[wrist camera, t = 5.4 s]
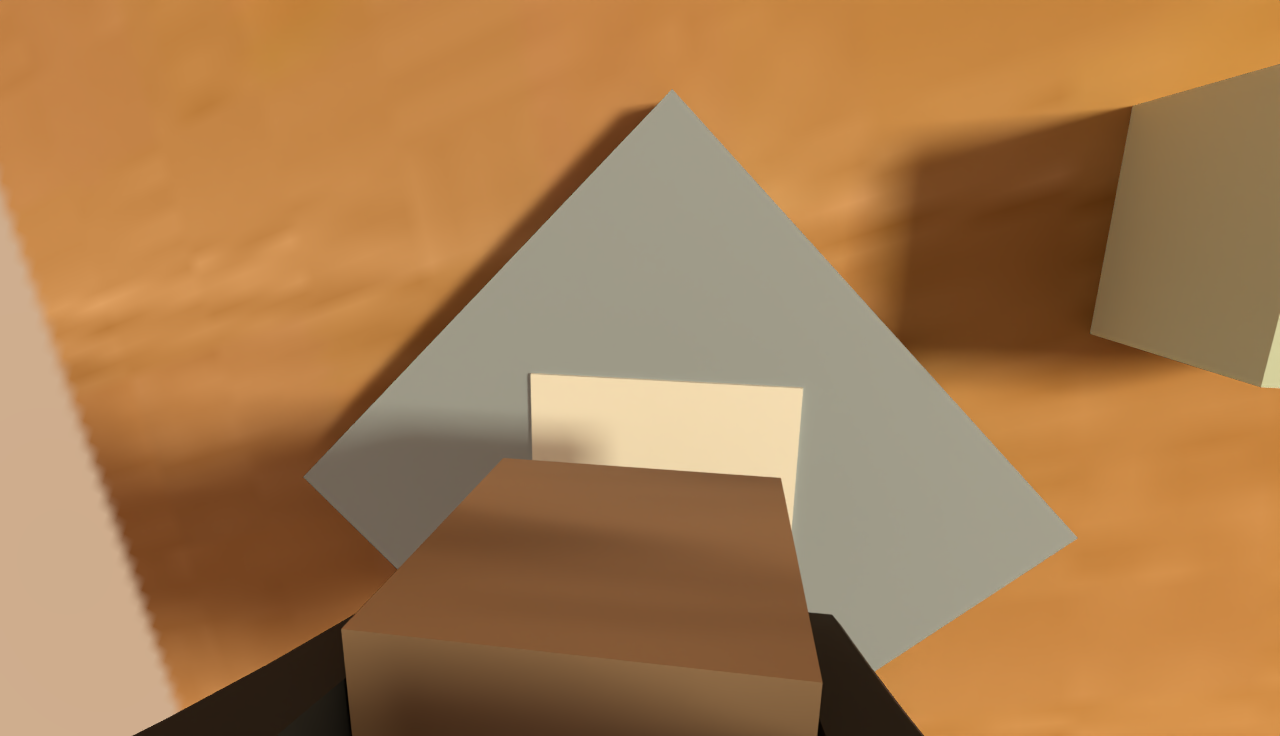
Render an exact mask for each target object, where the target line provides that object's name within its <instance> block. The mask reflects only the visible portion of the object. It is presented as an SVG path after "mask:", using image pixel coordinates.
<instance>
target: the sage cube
mask: <svg viewBox="0 0 1280 736" xmlns="http://www.w3.org/2000/svg"><path fill="white" fill-rule="evenodd" d="M1090 334H1092V335H1095V336H1098V337H1101V338H1105V339H1108V340H1111V341H1114V342H1117V343H1121V344H1124V345H1127V346H1130V347H1134V348H1137V349H1140V350H1143V351H1146V352H1150V353H1153V354H1156V355H1159V356H1162V357H1166V358H1169V359H1172V360H1175V361H1178V362H1182V363H1185V364H1188V365H1191V366H1194V367H1198V368H1201V369H1204V370H1207V371H1211V372H1214V373H1217V374H1220V375H1223V376H1227V377H1230V378H1233V379H1236V380H1239V381H1243V382H1246V383H1249V384H1252V385H1255V386H1259V387H1267V388H1280V64H1278V65H1275V66H1271V67H1268V68H1264V69H1261V70H1257V71H1254V72H1250V73H1247V74H1243V75H1240V76H1236V77H1233V78H1229V79H1226V80H1222V81H1219V82H1215V83H1212V84H1208V85H1205V86H1201V87H1198V88H1194V89H1191V90H1187V91H1184V92H1180V93H1176V94H1173V95H1169V96H1166V97H1162V98H1159V99H1155V100H1152V101H1148V102H1145V103H1141V104H1138V105H1134V106H1133V107H1132V112H1131V117H1130V123H1129V128H1128V133H1127V139H1126V144H1125V149H1124V155H1123V160H1122V165H1121V171H1120V176H1119V181H1118V187H1117V192H1116V197H1115V203H1114V208H1113V213H1112V219H1111V224H1110V229H1109V235H1108V240H1107V245H1106V250H1105V256H1104V261H1103V266H1102V272H1101V277H1100V282H1099V288H1098V293H1097V298H1096V304H1095V309H1094V314H1093V320H1092V325H1091V330H1090Z"/></svg>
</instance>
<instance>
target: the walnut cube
mask: <svg viewBox="0 0 1280 736" xmlns="http://www.w3.org/2000/svg"><path fill="white" fill-rule="evenodd" d="M341 632H342V642H343V652H344V661H345V671H346V681H347V690H348V700H349V710H350V719H351V729H352V736H817V733H818V723H819V713H820V703H821V693H822V684H823V682H822V677H821V672H820V668H819V663H818V658H817V653H816V648H815V643H814V638H813V633H812V628H811V623H810V618H809V613H808V609H807V604H806V599H805V594H804V589H803V584H802V579H801V574H800V569H799V564H798V559H797V554H796V550H795V545H794V540H793V535H792V530H791V525H790V520H789V515H788V510H787V505H786V500H785V495H784V491H783V486H782V481H781V478H777V477H763V476H749V475H735V474H721V473H707V472H693V471H679V470H665V469H651V468H637V467H623V466H609V465H595V464H581V463H567V462H553V461H539V460H525V459H511V458H503V459H502V460H501V461H500V462H499V463H498V464H497V465H496V466H495V467H494V468H493V469H492V470H491V471H490V473H489V474H488V475H487V476H486V477H485V478H484V479H483V480H482V481H481V482H480V483H479V484H478V485H477V486H476V487H475V488H474V489H473V490H472V492H471V493H470V494H469V495H468V496H467V497H466V498H465V499H464V500H463V501H462V502H461V503H460V504H459V505H458V506H457V507H456V508H455V509H454V511H453V512H452V513H451V514H450V515H449V516H448V517H447V518H446V519H445V520H444V521H443V522H442V523H441V524H440V525H439V526H438V527H437V528H436V530H435V531H434V532H433V533H432V534H431V535H430V536H429V537H428V538H427V539H426V540H425V541H424V542H423V543H422V544H421V545H420V546H419V547H418V548H417V550H416V551H415V552H414V553H413V554H412V555H411V556H410V557H409V558H408V559H407V560H406V561H405V562H404V563H403V564H402V565H401V566H400V567H399V569H398V570H397V571H396V572H395V573H394V574H393V575H392V576H391V577H390V578H389V579H388V580H387V581H386V582H385V583H384V584H383V585H382V586H381V588H380V589H379V590H378V591H377V592H376V593H375V594H374V595H373V596H372V597H371V598H370V599H369V600H368V601H367V602H366V603H365V604H364V605H363V607H362V608H361V609H360V610H359V611H358V612H357V613H356V614H355V615H354V616H353V617H352V618H351V619H350V620H349V621H348V622H347V623H346V624H345V626H344V627H343V628H342V629H341Z"/></svg>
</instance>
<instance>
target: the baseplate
mask: <svg viewBox="0 0 1280 736" xmlns="http://www.w3.org/2000/svg"><path fill="white" fill-rule="evenodd" d="M503 458H511V459H525V460H539V461H553V462H567V463H581V464H595V465H609V466H623V467H637V468H651V469H665V470H679V471H693V472H707V473H721V474H735V475H749V476H763V477H777V478H781V481H782V486H783V491H784V495H785V500H786V505H787V510H788V515H789V520H790V525H791V530H792V535H793V540H794V545H795V550H796V554H797V559H798V564H799V569H800V574H801V579H802V584H803V589H804V594H805V599H806V604H807V609H808V612H811V613H821V614H831V615H833V616H834V617H835V619H836V620H837V621H838V622H839V623H840V624H841V626H842V627H843V629H844V630H845V631H846V633H847V634H848V636H849V637H850V638H851V640H852V641H853V643H854V644H855V645H856V647H857V648H858V650H859V651H860V652H861V654H862V655H863V657H864V658H865V659H866V661H867V662H868V664H869V665H870V666H871V668H872V669H873V670H874V671H876V670H878V669H879V668H881V667H882V666H884V665H885V664H887V663H888V662H890V661H891V660H893V659H894V658H896V657H897V656H899V655H900V654H902V653H903V652H905V651H907V650H908V649H910V648H911V647H913V646H914V645H916V644H917V643H919V642H920V641H922V640H923V639H925V638H926V637H928V636H929V635H931V634H932V633H934V632H936V631H937V630H939V629H940V628H942V627H943V626H945V625H946V624H948V623H949V622H951V621H952V620H954V619H955V618H957V617H958V616H960V615H961V614H963V613H965V612H966V611H968V610H969V609H971V608H972V607H974V606H975V605H977V604H978V603H980V602H981V601H983V600H984V599H986V598H987V597H989V596H990V595H992V594H994V593H995V592H997V591H998V590H1000V589H1001V588H1003V587H1004V586H1006V585H1007V584H1009V583H1010V582H1012V581H1013V580H1015V579H1016V578H1018V577H1019V576H1021V575H1023V574H1024V573H1026V572H1027V571H1029V570H1030V569H1032V568H1033V567H1035V566H1036V565H1038V564H1039V563H1041V562H1042V561H1044V560H1045V559H1047V558H1048V557H1050V556H1051V555H1053V554H1055V553H1056V552H1058V551H1059V550H1061V549H1062V548H1064V547H1065V546H1067V545H1068V544H1070V543H1071V542H1073V541H1074V540H1076V539H1077V537H1076V536H1075V534H1074V533H1073V532H1072V531H1071V530H1070V529H1069V528H1068V527H1067V526H1066V524H1065V523H1064V522H1063V521H1062V520H1061V519H1060V518H1059V517H1058V516H1057V515H1056V513H1055V512H1054V511H1053V510H1052V509H1051V508H1050V507H1049V506H1048V505H1047V503H1046V502H1045V501H1044V500H1043V499H1042V498H1041V497H1040V496H1039V495H1038V493H1037V492H1036V491H1035V490H1034V489H1033V488H1032V487H1031V486H1030V485H1029V484H1028V482H1027V481H1026V480H1025V479H1024V478H1023V477H1022V476H1021V475H1020V474H1019V472H1018V471H1017V470H1016V469H1015V468H1014V467H1013V466H1012V465H1011V464H1010V463H1009V461H1008V460H1007V459H1006V458H1005V457H1004V456H1003V455H1002V454H1001V453H1000V451H999V450H998V449H997V448H996V447H995V446H994V445H993V444H992V443H991V441H990V440H989V439H988V438H987V437H986V436H985V435H984V434H983V433H982V432H981V430H980V429H979V428H978V427H977V426H976V425H975V424H974V423H973V422H972V420H971V419H970V418H969V417H968V416H967V415H966V414H965V413H964V412H963V410H962V409H961V408H960V407H959V406H958V405H957V404H956V403H955V402H954V401H953V399H952V398H951V397H950V396H949V395H948V394H947V393H946V392H945V391H944V389H943V388H942V387H941V386H940V385H939V384H938V383H937V382H936V381H935V379H934V378H933V377H932V376H931V375H930V374H929V373H928V372H927V371H926V370H925V368H924V367H923V366H922V365H921V364H920V363H919V362H918V361H917V360H916V358H915V357H914V356H913V355H912V354H911V353H910V352H909V351H908V350H907V349H906V347H905V346H904V345H903V344H902V343H901V342H900V341H899V340H898V339H897V337H896V336H895V335H894V334H893V333H892V332H891V331H890V330H889V329H888V327H887V326H886V325H885V324H884V323H883V322H882V321H881V320H880V319H879V318H878V316H877V315H876V314H875V313H874V312H873V311H872V310H871V309H870V308H869V306H868V305H867V304H866V303H865V302H864V301H863V300H862V299H861V298H860V296H859V295H858V294H857V293H856V292H855V291H854V290H853V289H852V288H851V287H850V285H849V284H848V283H847V282H846V281H845V280H844V279H843V278H842V277H841V275H840V274H839V273H838V272H837V271H836V270H835V269H834V268H833V267H832V265H831V264H830V263H829V262H828V261H827V260H826V259H825V258H824V257H823V256H822V254H821V253H820V252H819V251H818V250H817V249H816V248H815V247H814V246H813V244H812V243H811V242H810V241H809V240H808V239H807V238H806V237H805V236H804V235H803V233H802V232H801V231H800V230H799V229H798V228H797V227H796V226H795V225H794V223H793V222H792V221H791V220H790V219H789V218H788V217H787V216H786V215H785V213H784V212H783V211H782V210H781V209H780V208H779V207H778V206H777V205H776V204H775V202H774V201H773V200H772V199H771V198H770V197H769V196H768V195H767V194H766V192H765V191H764V190H763V189H762V188H761V187H760V186H759V185H758V184H757V182H756V181H755V180H754V179H753V178H752V177H751V176H750V175H749V174H748V173H747V171H746V170H745V169H744V168H743V167H742V166H741V165H740V164H739V163H738V161H737V160H736V159H735V158H734V157H733V156H732V155H731V154H730V153H729V151H728V150H727V149H726V148H725V147H724V146H723V145H722V144H721V143H720V142H719V140H718V139H717V138H716V137H715V136H714V135H713V134H712V133H711V132H710V130H709V129H708V128H707V127H706V126H705V125H704V124H703V123H702V122H701V121H700V119H699V118H698V117H697V116H696V115H695V114H694V113H693V112H692V111H691V109H690V108H689V107H688V106H687V105H686V104H685V103H684V102H683V101H682V99H681V98H680V97H679V96H678V95H677V94H676V93H675V92H674V91H673V90H671V91H670V92H669V93H668V94H667V95H666V96H665V97H664V98H663V99H662V100H661V101H660V102H659V103H658V105H657V106H656V107H655V108H654V109H653V110H652V111H651V112H650V113H649V114H648V115H647V116H646V117H645V118H644V119H643V120H642V121H641V122H640V123H639V125H638V126H637V127H636V128H635V129H634V130H633V131H632V132H631V133H630V134H629V135H628V136H627V137H626V138H625V139H624V140H623V141H622V142H621V143H620V145H619V146H618V147H617V148H616V149H615V150H614V151H613V152H612V153H611V154H610V155H609V156H608V157H607V158H606V159H605V160H604V161H603V162H602V163H601V164H600V166H599V167H598V168H597V169H596V170H595V171H594V172H593V173H592V174H591V175H590V176H589V177H588V178H587V179H586V180H585V181H584V182H583V183H582V184H581V186H580V187H579V188H578V189H577V190H576V191H575V192H574V193H573V194H572V195H571V196H570V197H569V198H568V199H567V200H566V201H565V202H564V203H563V204H562V205H561V207H560V208H559V209H558V210H557V211H556V212H555V213H554V214H553V215H552V216H551V217H550V218H549V219H548V220H547V221H546V222H545V223H544V224H543V225H542V227H541V228H540V229H539V230H538V231H537V232H536V233H535V234H534V235H533V236H532V237H531V238H530V239H529V240H528V241H527V242H526V243H525V244H524V245H523V246H522V248H521V249H520V250H519V251H518V252H517V253H516V254H515V255H514V256H513V257H512V258H511V259H510V260H509V261H508V262H507V263H506V264H505V265H504V266H503V268H502V269H501V270H500V271H499V272H498V273H497V274H496V275H495V276H494V277H493V278H492V279H491V280H490V281H489V282H488V283H487V284H486V285H485V286H484V288H483V289H482V290H481V291H480V292H479V293H478V294H477V295H476V296H475V297H474V298H473V299H472V300H471V301H470V302H469V303H468V304H467V305H466V306H465V307H464V309H463V310H462V311H461V312H460V313H459V314H458V315H457V316H456V317H455V318H454V319H453V320H452V321H451V322H450V323H449V324H448V325H447V326H446V327H445V329H444V330H443V331H442V332H441V333H440V334H439V335H438V336H437V337H436V338H435V339H434V340H433V341H432V342H431V343H430V344H429V345H428V346H427V347H426V348H425V350H424V351H423V352H422V353H421V354H420V355H419V356H418V357H417V358H416V359H415V360H414V361H413V362H412V363H411V364H410V365H409V366H408V367H407V368H406V370H405V371H404V372H403V373H402V374H401V375H400V376H399V377H398V378H397V379H396V380H395V381H394V382H393V383H392V384H391V385H390V386H389V387H388V388H387V390H386V391H385V392H384V393H383V394H382V395H381V396H380V397H379V398H378V399H377V400H376V401H375V402H374V403H373V404H372V405H371V406H370V407H369V408H368V409H367V411H366V412H365V413H364V414H363V415H362V416H361V417H360V418H359V419H358V420H357V421H356V422H355V423H354V424H353V425H352V426H351V427H350V428H349V429H348V431H347V432H346V433H345V434H344V435H343V436H342V437H341V438H340V439H339V440H338V441H337V442H336V443H335V444H334V445H333V446H332V447H331V448H330V449H329V450H328V452H327V453H326V454H325V455H324V456H323V457H322V458H321V459H320V460H319V461H318V462H317V463H316V464H315V465H314V466H313V467H312V468H311V469H310V470H309V472H308V473H307V474H306V475H305V476H304V478H305V479H306V480H307V481H308V482H309V483H310V484H311V485H312V486H313V487H314V488H315V489H316V490H317V491H318V492H319V493H320V494H321V495H322V496H323V497H324V498H325V499H326V500H327V501H328V502H329V503H330V504H331V505H332V506H333V507H334V508H335V509H336V510H337V511H338V512H339V513H340V514H341V515H342V516H343V517H344V518H345V519H347V520H348V521H349V522H350V523H351V524H352V525H353V526H354V527H355V528H356V529H357V530H358V531H359V532H360V533H361V534H362V535H363V536H364V537H365V538H366V539H367V540H368V541H369V542H370V543H371V544H372V545H373V546H374V547H375V548H376V549H377V550H378V551H379V552H380V553H381V554H382V555H383V556H384V557H385V558H386V559H387V560H388V561H389V562H390V563H391V564H392V565H393V566H394V567H395V568H396V569H397V570H398V569H399V567H400V566H401V565H402V564H403V563H404V562H405V561H406V560H407V559H408V558H409V557H410V556H411V555H412V554H413V553H414V552H415V551H416V550H417V548H418V547H419V546H420V545H421V544H422V543H423V542H424V541H425V540H426V539H427V538H428V537H429V536H430V535H431V534H432V533H433V532H434V531H435V530H436V528H437V527H438V526H439V525H440V524H441V523H442V522H443V521H444V520H445V519H446V518H447V517H448V516H449V515H450V514H451V513H452V512H453V511H454V509H455V508H456V507H457V506H458V505H459V504H460V503H461V502H462V501H463V500H464V499H465V498H466V497H467V496H468V495H469V494H470V493H471V492H472V490H473V489H474V488H475V487H476V486H477V485H478V484H479V483H480V482H481V481H482V480H483V479H484V478H485V477H486V476H487V475H488V474H489V473H490V471H491V470H492V469H493V468H494V467H495V466H496V465H497V464H498V463H499V462H500V461H501V460H502V459H503Z"/></svg>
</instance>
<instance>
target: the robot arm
mask: <svg viewBox="0 0 1280 736" xmlns="http://www.w3.org/2000/svg"><path fill="white" fill-rule="evenodd" d="M808 613H809V618H810V623H811V628H812V633H813V638H814V643H815V648H816V653H817V658H818V663H819V668H820V672H821V677H822V682H823V684H822V693H821V703H820V713H819V723H818V733H817V736H924V735H923V734H922V733H921V731H920V730H919V729H918V728H917V727H916V725H915V724H914V723H913V722H912V720H911V719H910V718H909V717H908V715H907V714H906V713H905V711H904V710H903V709H902V707H901V706H900V705H899V704H898V702H897V701H896V700H895V698H894V697H893V696H892V694H891V693H890V692H889V690H888V689H887V688H886V686H885V685H884V684H883V682H882V681H881V680H880V678H879V677H878V676H877V674H876V673H875V672H874V670H873V669H872V668H871V666H870V665H869V664H868V662H867V661H866V659H865V658H864V657H863V655H862V654H861V652H860V651H859V650H858V648H857V647H856V645H855V644H854V643H853V641H852V640H851V638H850V637H849V636H848V634H847V633H846V631H845V630H844V629H843V627H842V626H841V624H840V623H839V622H838V621H837V620H836V619H835V617H834V616H833V615H831V614H821V613H811V612H808ZM354 615H355V614H354ZM354 615H352V616H351V617H349V618H347V619H346V620H344V621H342V622H340V623H339V624H337V625H335V626H334V627H332V628H330V629H328V630H327V631H325V632H323V633H321V634H320V635H318V636H316V637H314V638H313V639H311V640H309V641H308V642H306V643H304V644H302V645H301V646H299V647H297V648H295V649H294V650H292V651H290V652H289V653H287V654H285V655H283V656H282V657H280V658H278V659H276V660H275V661H273V662H271V663H269V664H268V665H266V666H264V667H262V668H260V669H258V670H256V671H255V672H253V673H251V674H249V675H247V676H245V677H243V678H241V679H240V680H238V681H236V682H234V683H232V684H230V685H228V686H227V687H225V688H223V689H221V690H219V691H217V692H215V693H213V694H212V695H210V696H208V697H206V698H204V699H202V700H200V701H199V702H197V703H195V704H193V705H191V706H189V707H187V708H186V709H184V710H182V711H180V712H178V713H176V714H174V715H172V716H171V717H169V718H167V719H165V720H163V721H161V722H159V723H157V724H155V725H153V726H151V727H149V728H147V729H145V730H143V731H141V732H139V733H137V734H135V735H133V736H352V729H351V719H350V710H349V700H348V690H347V681H346V671H345V661H344V652H343V642H342V632H341V629H342V628H343V627H344V626H345V624H346V623H347V622H348V621H349V620H350V619H351V618H352V617H353V616H354Z"/></svg>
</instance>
